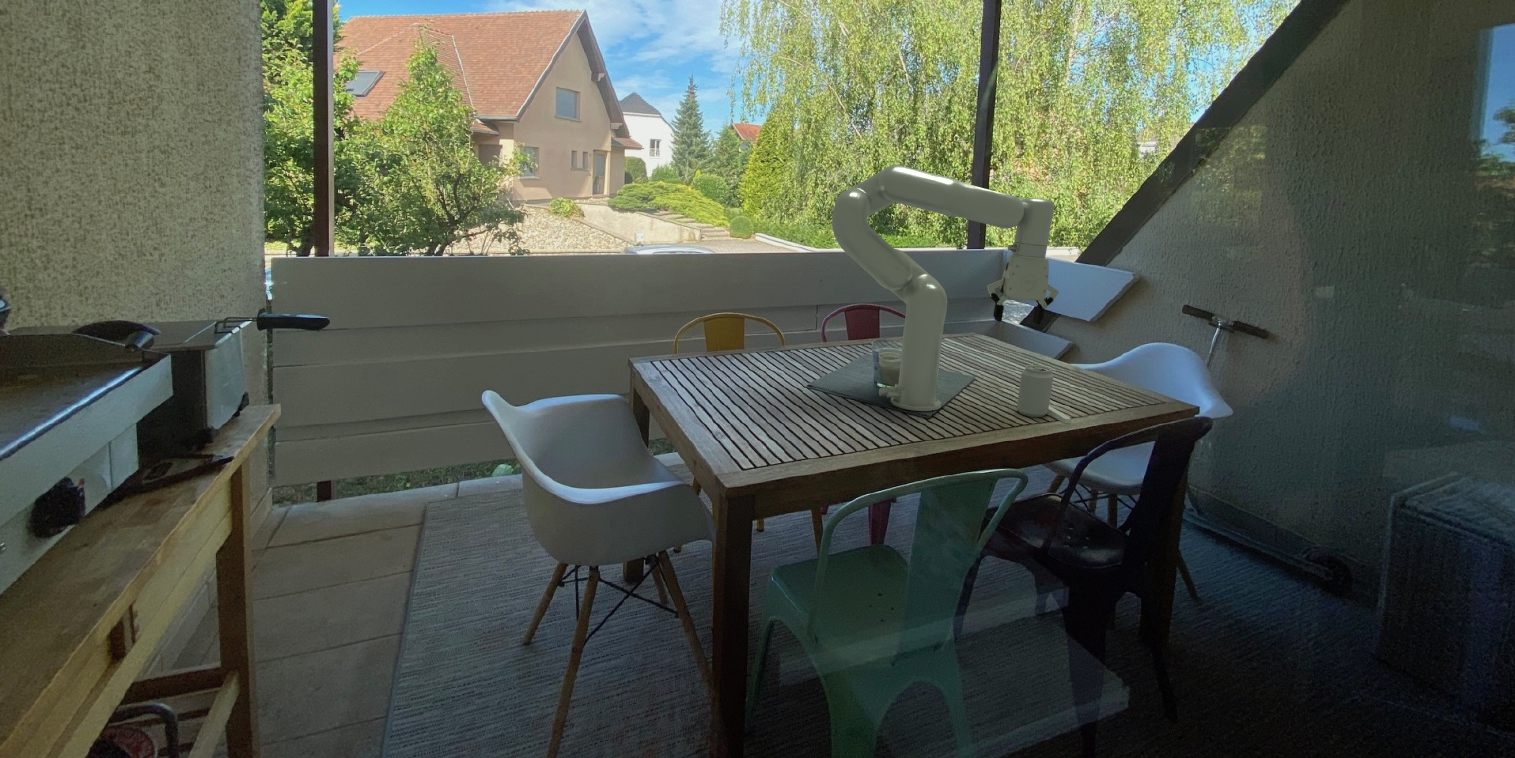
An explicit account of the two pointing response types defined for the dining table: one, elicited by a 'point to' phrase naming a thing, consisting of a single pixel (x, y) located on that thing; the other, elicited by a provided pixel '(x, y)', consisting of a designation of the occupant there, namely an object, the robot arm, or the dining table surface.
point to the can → (1035, 391)
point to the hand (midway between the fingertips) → (1017, 322)
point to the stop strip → (1059, 415)
